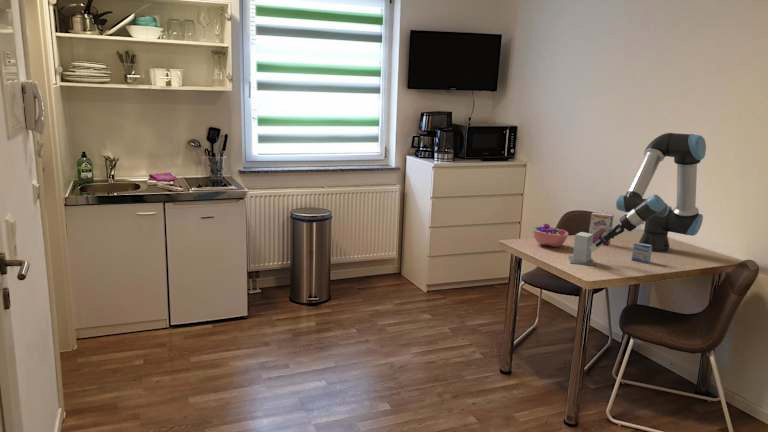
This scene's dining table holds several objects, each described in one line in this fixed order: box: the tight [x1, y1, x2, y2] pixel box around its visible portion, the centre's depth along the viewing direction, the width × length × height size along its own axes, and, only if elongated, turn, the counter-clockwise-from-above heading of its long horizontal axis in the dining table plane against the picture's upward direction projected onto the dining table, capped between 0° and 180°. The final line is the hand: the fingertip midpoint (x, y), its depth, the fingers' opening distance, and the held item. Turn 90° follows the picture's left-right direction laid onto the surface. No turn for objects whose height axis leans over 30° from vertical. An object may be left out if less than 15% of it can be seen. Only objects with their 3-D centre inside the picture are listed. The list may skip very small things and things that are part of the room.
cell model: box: [532, 223, 569, 248], centre depth 302 cm, size 17×20×11 cm
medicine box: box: [631, 241, 653, 264], centre depth 279 cm, size 8×4×9 cm, turn 53°
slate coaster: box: [568, 255, 596, 267], centre depth 276 cm, size 11×13×1 cm
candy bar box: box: [588, 211, 614, 247], centre depth 311 cm, size 11×5×16 cm, turn 58°
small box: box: [572, 231, 594, 263], centre depth 274 cm, size 8×6×13 cm
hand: (594, 246), depth 272 cm, fingers open, 13 cm apart
